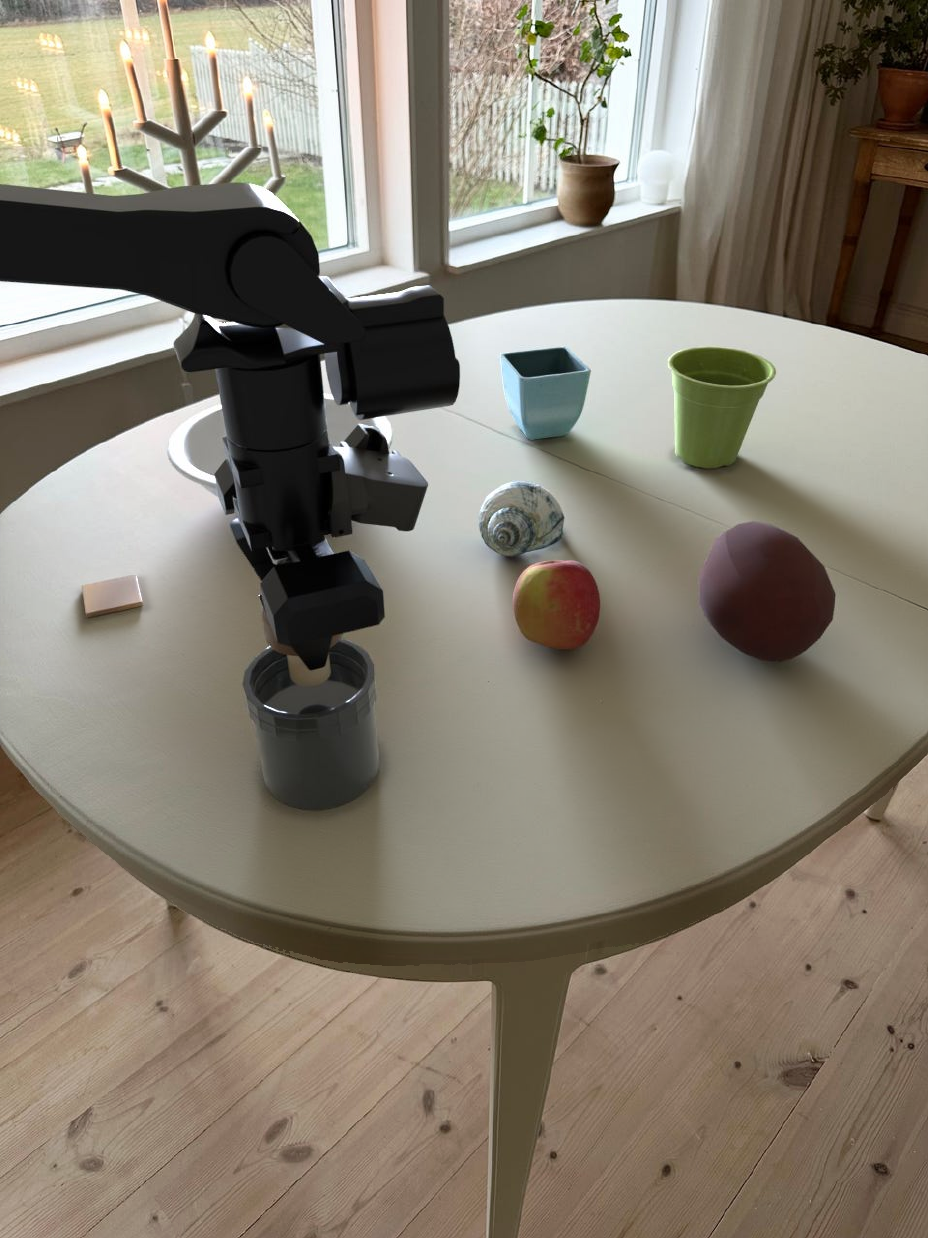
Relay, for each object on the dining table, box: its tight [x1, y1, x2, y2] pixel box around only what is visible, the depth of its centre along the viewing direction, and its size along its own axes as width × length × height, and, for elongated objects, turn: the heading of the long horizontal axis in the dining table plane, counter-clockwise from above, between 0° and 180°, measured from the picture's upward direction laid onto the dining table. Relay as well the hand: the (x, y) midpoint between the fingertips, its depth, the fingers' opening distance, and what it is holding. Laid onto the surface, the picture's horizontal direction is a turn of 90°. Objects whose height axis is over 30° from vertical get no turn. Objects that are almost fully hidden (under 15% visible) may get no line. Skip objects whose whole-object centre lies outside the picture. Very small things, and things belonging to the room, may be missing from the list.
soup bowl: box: [166, 393, 394, 498], centre depth 101 cm, size 24×24×7 cm
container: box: [242, 637, 380, 811], centre depth 66 cm, size 9×9×9 cm
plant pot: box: [667, 346, 777, 469], centre depth 106 cm, size 12×12×11 cm
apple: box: [512, 559, 601, 650], centre depth 79 cm, size 8×8×8 cm
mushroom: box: [261, 607, 344, 686], centre depth 62 cm, size 5×5×6 cm
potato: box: [698, 520, 837, 663], centre depth 78 cm, size 11×13×10 cm
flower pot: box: [499, 346, 592, 440], centre depth 113 cm, size 9×9×9 cm
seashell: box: [478, 480, 565, 557], centre depth 92 cm, size 6×8×12 cm
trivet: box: [81, 573, 144, 619], centre depth 87 cm, size 5×5×1 cm
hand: (306, 643), depth 62 cm, fingers closed on mushroom, 5 cm apart
